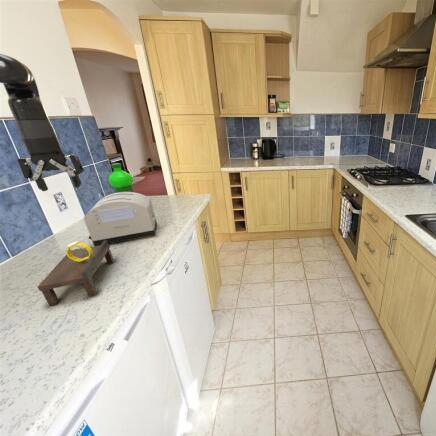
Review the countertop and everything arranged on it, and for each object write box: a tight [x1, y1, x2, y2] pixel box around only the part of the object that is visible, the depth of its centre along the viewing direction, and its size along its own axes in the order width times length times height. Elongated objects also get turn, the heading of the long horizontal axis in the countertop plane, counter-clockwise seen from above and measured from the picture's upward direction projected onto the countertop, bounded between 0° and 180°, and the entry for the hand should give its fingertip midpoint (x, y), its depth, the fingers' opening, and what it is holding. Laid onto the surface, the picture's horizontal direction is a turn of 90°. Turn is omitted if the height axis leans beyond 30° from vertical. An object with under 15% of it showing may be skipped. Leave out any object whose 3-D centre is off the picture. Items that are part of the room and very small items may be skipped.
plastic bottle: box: [108, 162, 135, 193], centre depth 130 cm, size 10×10×25 cm
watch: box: [65, 240, 93, 262], centre depth 73 cm, size 6×3×6 cm, turn 103°
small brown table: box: [37, 240, 115, 307], centre depth 75 cm, size 11×20×8 cm, turn 21°
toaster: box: [83, 192, 158, 246], centre depth 105 cm, size 23×25×17 cm
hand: (61, 188), depth 78 cm, fingers open, 8 cm apart
